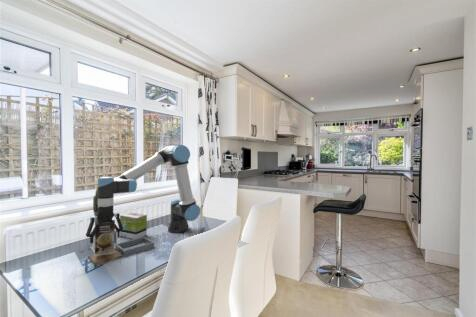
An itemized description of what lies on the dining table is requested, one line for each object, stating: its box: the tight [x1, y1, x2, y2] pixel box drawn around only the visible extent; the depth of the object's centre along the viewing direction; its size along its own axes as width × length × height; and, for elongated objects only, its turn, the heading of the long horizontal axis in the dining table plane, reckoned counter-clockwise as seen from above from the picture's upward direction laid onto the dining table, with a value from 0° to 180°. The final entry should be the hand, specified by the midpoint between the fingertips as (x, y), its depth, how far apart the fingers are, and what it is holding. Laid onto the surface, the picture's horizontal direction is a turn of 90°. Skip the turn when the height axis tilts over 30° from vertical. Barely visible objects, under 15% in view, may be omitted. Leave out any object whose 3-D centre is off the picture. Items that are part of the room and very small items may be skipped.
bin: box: [114, 236, 155, 257], centre depth 134 cm, size 18×14×3 cm
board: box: [87, 248, 123, 267], centre depth 122 cm, size 13×13×1 cm
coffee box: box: [94, 219, 116, 255], centre depth 122 cm, size 9×6×16 cm
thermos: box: [92, 187, 98, 236], centre depth 145 cm, size 9×12×35 cm
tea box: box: [119, 212, 148, 240], centre depth 155 cm, size 15×10×15 cm, turn 68°
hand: (105, 246), depth 122 cm, fingers closed on coffee box, 10 cm apart
